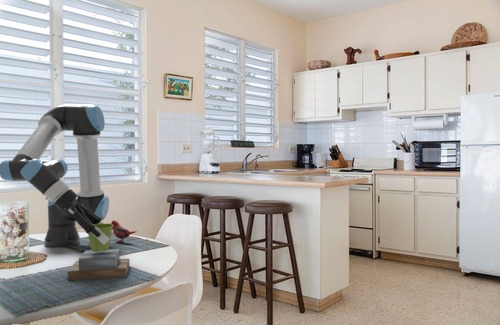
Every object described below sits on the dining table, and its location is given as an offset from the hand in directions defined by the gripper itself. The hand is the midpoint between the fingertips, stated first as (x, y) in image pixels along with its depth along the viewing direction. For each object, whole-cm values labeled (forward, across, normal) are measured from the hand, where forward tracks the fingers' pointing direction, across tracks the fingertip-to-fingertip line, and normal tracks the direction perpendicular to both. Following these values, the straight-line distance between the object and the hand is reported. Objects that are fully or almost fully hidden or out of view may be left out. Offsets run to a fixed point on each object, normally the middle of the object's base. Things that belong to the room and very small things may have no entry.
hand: (109, 238), depth 147 cm
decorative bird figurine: (+9, -47, -9) cm, 49 cm away
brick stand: (+6, 0, -11) cm, 13 cm away
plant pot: (+1, 0, -5) cm, 5 cm away
